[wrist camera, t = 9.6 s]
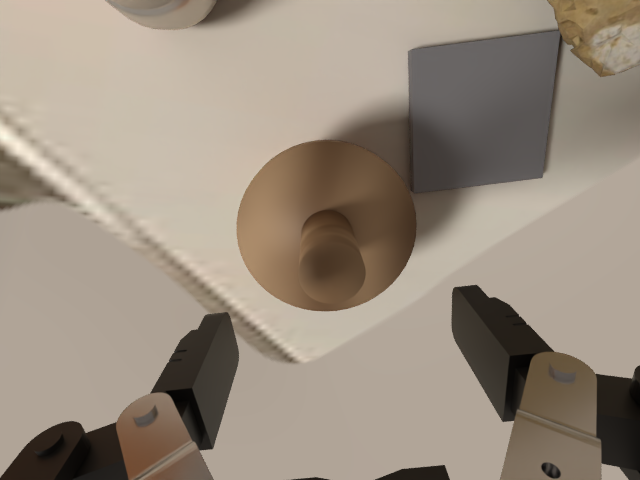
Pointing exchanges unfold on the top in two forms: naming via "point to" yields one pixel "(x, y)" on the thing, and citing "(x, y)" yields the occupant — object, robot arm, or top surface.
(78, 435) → the robot arm
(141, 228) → the top surface
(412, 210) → the lid
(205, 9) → the plastic bottle
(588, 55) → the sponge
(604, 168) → the top surface
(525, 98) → the mat
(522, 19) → the top surface
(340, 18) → the top surface
